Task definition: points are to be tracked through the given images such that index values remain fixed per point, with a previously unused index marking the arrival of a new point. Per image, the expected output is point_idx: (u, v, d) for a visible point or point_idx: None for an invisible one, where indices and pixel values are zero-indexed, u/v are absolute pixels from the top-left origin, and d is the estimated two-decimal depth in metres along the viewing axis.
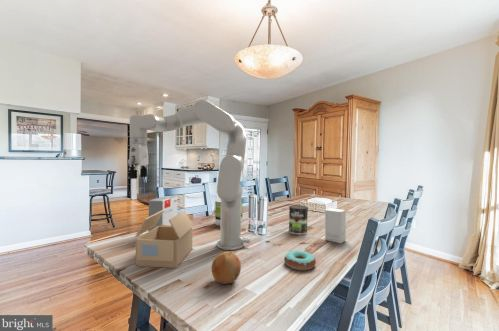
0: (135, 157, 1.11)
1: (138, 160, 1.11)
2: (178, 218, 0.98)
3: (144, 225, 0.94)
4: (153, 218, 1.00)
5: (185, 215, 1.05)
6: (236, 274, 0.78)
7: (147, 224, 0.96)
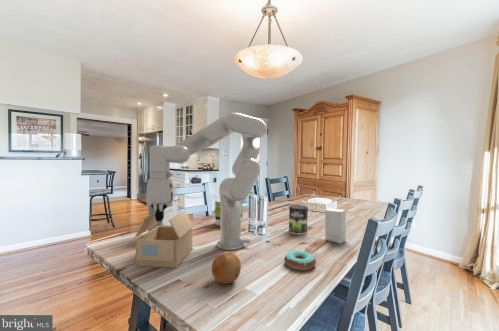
0: (172, 193, 1.00)
1: (173, 196, 1.02)
2: (178, 218, 0.98)
3: (143, 225, 0.94)
4: (152, 217, 1.00)
5: (185, 215, 1.05)
6: (236, 274, 0.78)
7: (146, 224, 0.96)
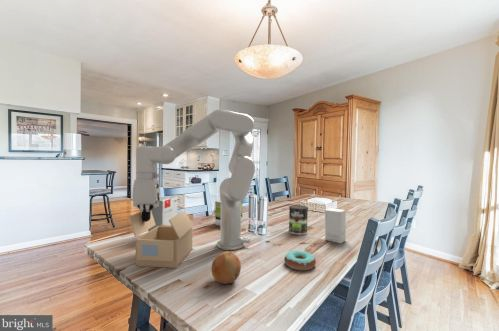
0: (159, 194, 1.01)
1: None
2: (178, 218, 0.98)
3: (135, 223, 0.95)
4: (141, 216, 1.00)
5: (185, 215, 1.05)
6: (236, 274, 0.78)
7: (138, 222, 0.97)
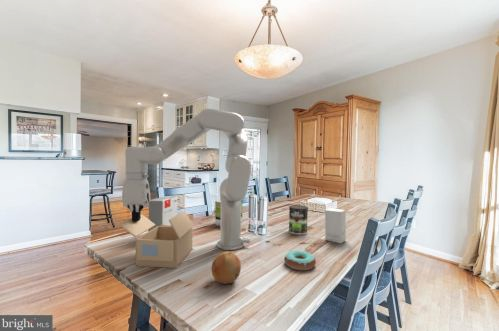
0: (149, 194, 1.01)
1: None
2: (178, 218, 0.98)
3: (129, 227, 0.95)
4: None
5: (185, 215, 1.05)
6: (236, 274, 0.78)
7: (132, 226, 0.97)
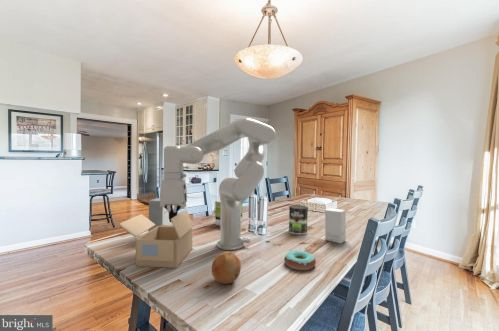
0: (186, 194, 1.00)
1: None
2: (180, 217, 0.98)
3: (129, 227, 0.95)
4: (134, 221, 1.01)
5: (186, 214, 1.05)
6: (236, 274, 0.78)
7: (132, 226, 0.97)
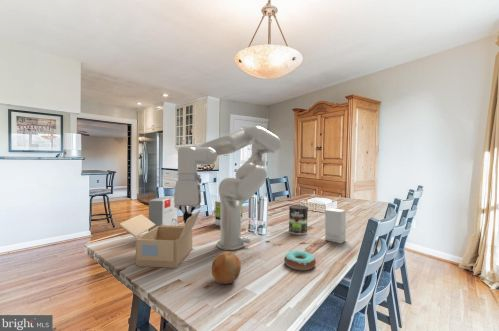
0: (200, 195, 0.99)
1: None
2: (192, 218, 0.98)
3: (129, 227, 0.95)
4: (134, 221, 1.01)
5: (197, 215, 1.05)
6: (236, 274, 0.78)
7: (132, 226, 0.97)
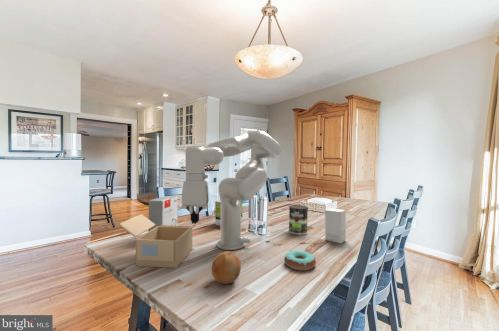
0: None
1: None
2: None
3: (129, 227, 0.95)
4: (134, 221, 1.01)
5: None
6: (236, 274, 0.78)
7: (132, 226, 0.97)
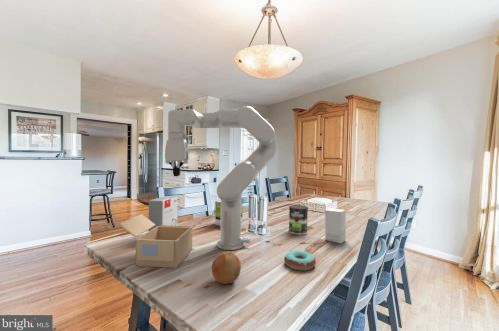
0: (187, 153, 1.16)
1: None
2: None
3: (129, 227, 0.95)
4: (134, 221, 1.01)
5: None
6: (236, 274, 0.78)
7: (132, 226, 0.97)
